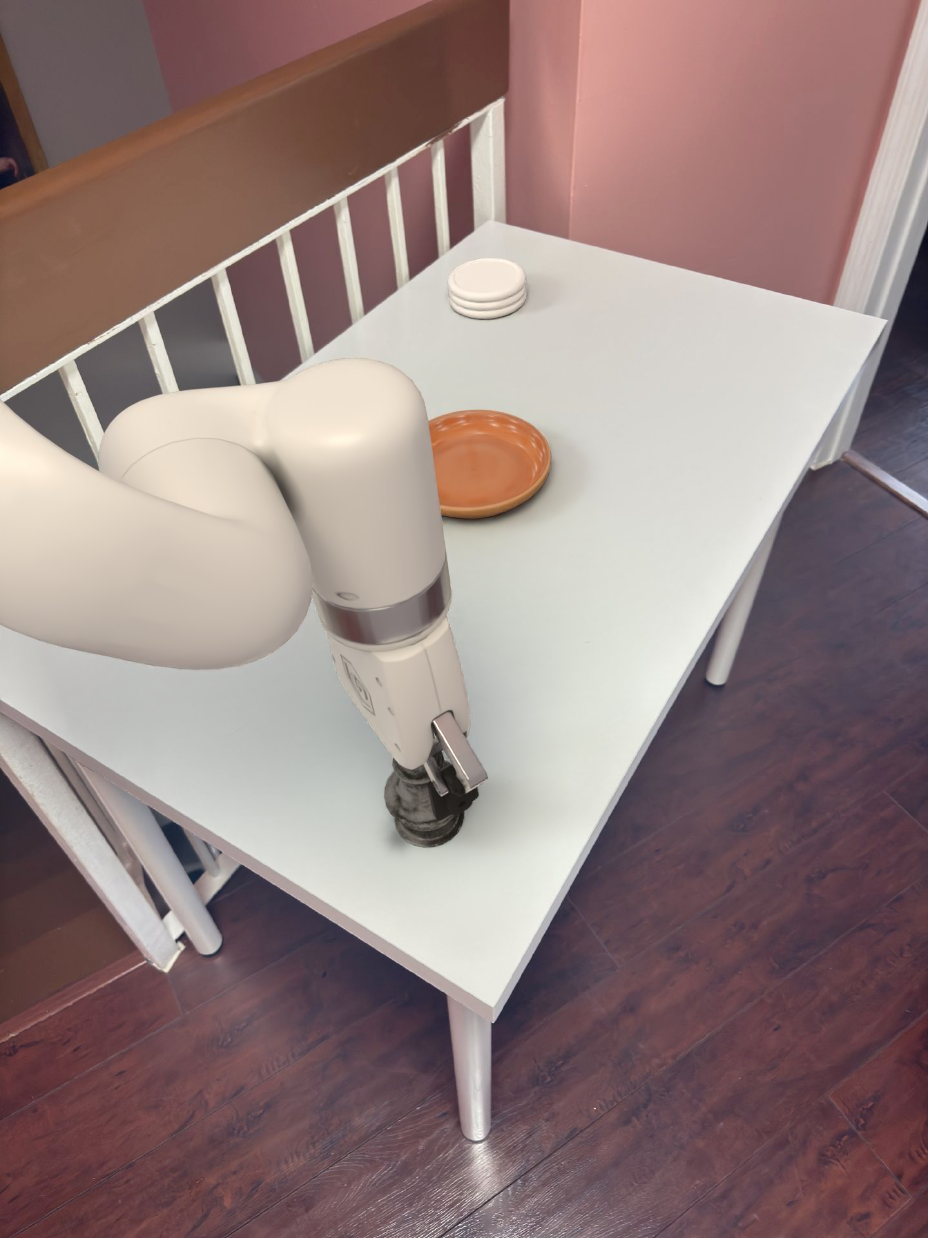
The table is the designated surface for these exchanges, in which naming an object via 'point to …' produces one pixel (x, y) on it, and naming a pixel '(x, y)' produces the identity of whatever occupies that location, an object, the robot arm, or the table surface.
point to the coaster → (487, 288)
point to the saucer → (486, 462)
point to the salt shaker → (418, 806)
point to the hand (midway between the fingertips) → (418, 755)
